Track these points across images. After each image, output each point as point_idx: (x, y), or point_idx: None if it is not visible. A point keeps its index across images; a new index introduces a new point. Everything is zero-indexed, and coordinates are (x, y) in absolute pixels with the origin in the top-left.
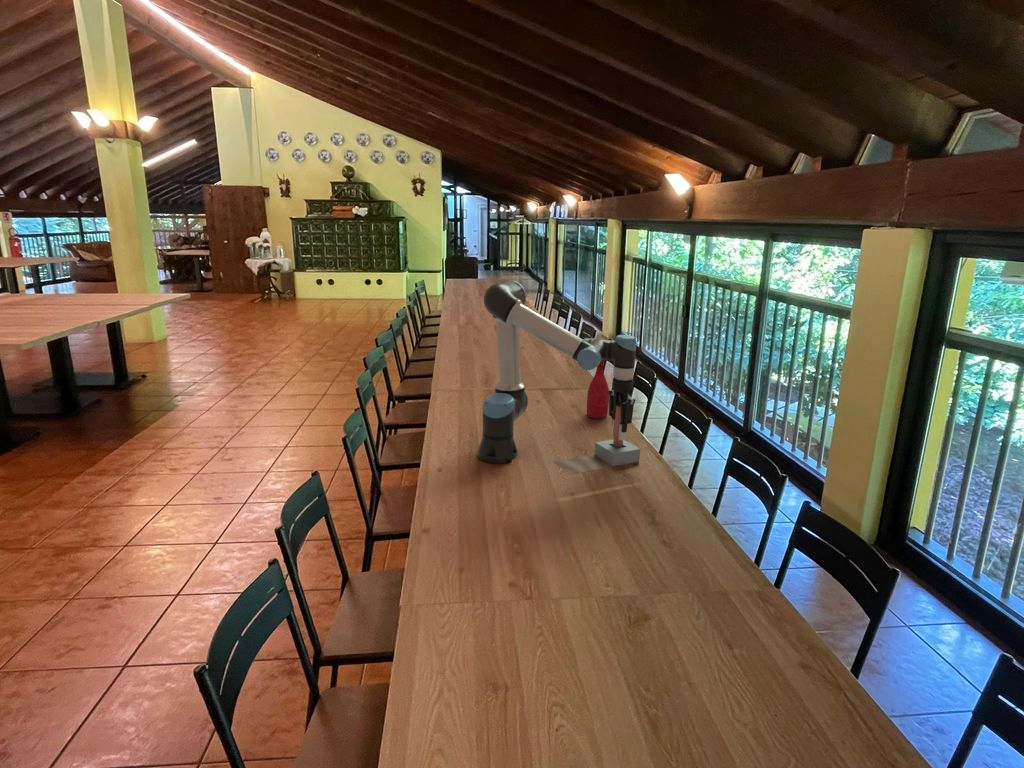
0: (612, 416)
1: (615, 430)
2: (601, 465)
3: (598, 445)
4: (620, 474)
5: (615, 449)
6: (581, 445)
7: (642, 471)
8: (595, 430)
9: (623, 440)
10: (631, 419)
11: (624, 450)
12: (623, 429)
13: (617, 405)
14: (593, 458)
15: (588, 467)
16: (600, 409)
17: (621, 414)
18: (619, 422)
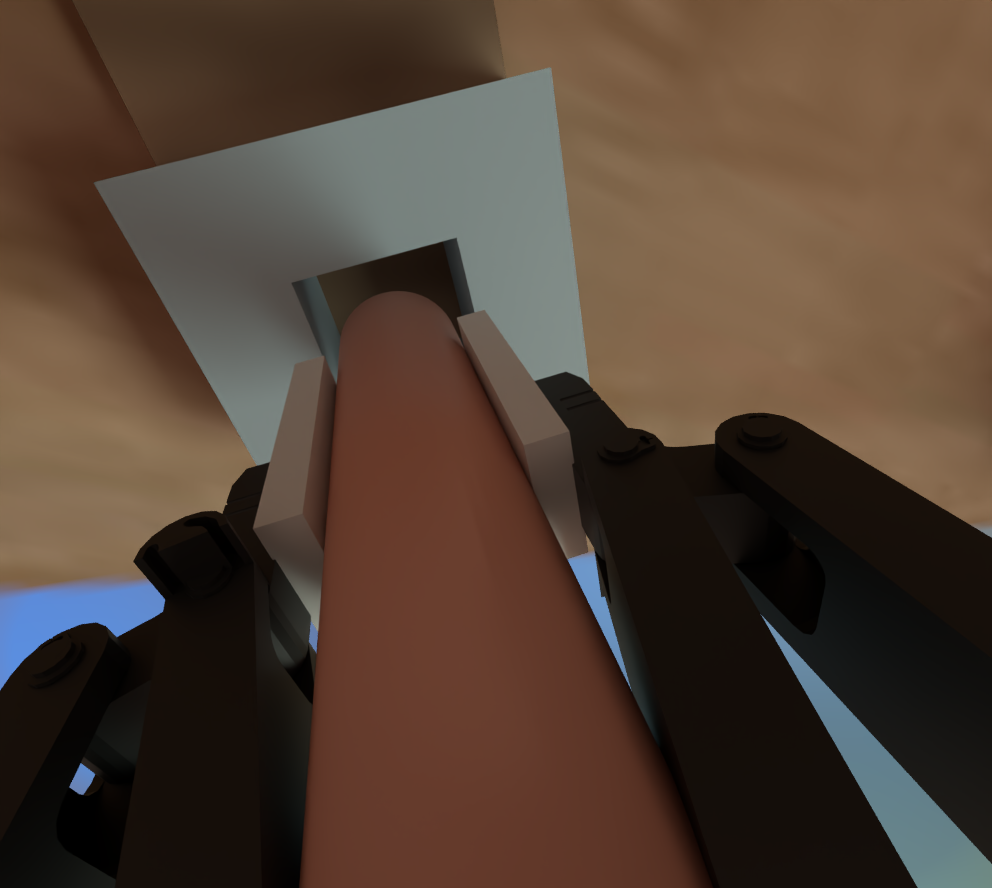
0: (638, 465)
1: (383, 371)
2: (168, 21)
3: (469, 88)
4: (12, 199)
5: (269, 268)
6: (795, 63)
7: (138, 430)
8: (962, 328)
9: None
10: (79, 849)
11: (238, 369)
12: (234, 504)
13: None
14: (396, 8)
15: None
16: None
17: (225, 780)
18: (330, 524)
